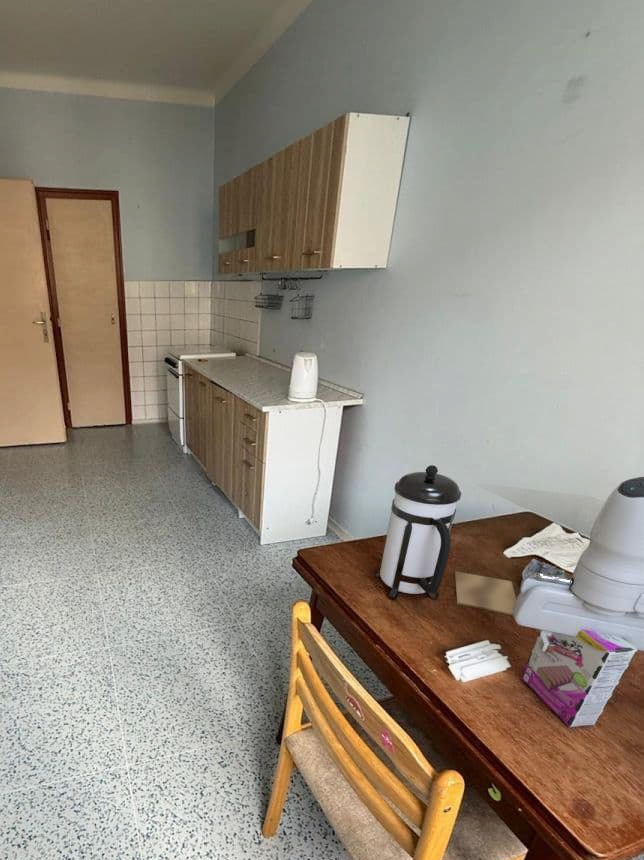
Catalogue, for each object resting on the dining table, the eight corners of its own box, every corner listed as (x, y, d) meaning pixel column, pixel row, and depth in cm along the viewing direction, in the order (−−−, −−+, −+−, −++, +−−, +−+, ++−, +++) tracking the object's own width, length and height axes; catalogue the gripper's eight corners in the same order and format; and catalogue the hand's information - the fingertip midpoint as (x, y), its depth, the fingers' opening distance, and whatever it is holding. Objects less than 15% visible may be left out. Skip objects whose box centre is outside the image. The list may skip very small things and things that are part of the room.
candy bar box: (517, 678, 85) (548, 604, 77) (543, 676, 85) (576, 602, 77) (568, 730, 75) (609, 650, 67) (596, 726, 75) (641, 647, 68)
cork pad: (511, 583, 111) (511, 581, 111) (519, 617, 100) (520, 615, 100) (454, 572, 116) (455, 571, 116) (456, 604, 105) (457, 602, 104)
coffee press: (356, 587, 111) (377, 466, 97) (391, 563, 120) (415, 449, 106) (429, 621, 100) (465, 490, 85) (461, 591, 109) (499, 468, 95)
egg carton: (553, 600, 105) (559, 585, 103) (515, 587, 110) (520, 572, 108) (564, 581, 112) (570, 566, 110) (528, 569, 116) (533, 555, 114)
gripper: (529, 581, 70) (503, 651, 77) (709, 613, 63) (663, 688, 69) (523, 561, 75) (498, 628, 82) (688, 588, 68) (647, 660, 74)
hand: (575, 656), depth 76 cm, fingers closed on candy bar box, 7 cm apart
